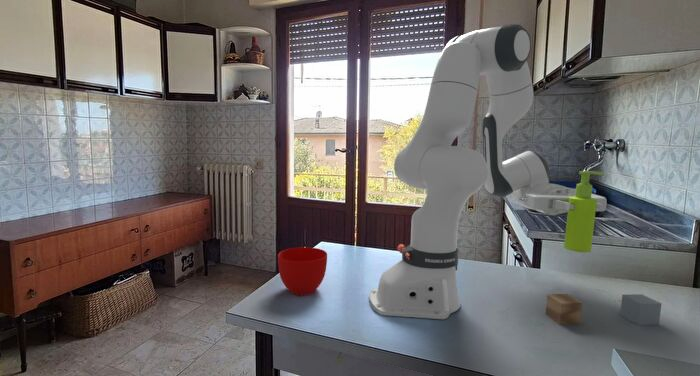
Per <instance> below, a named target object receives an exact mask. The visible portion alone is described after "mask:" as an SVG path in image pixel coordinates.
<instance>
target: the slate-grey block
mask: <svg viewBox="0 0 700 376" xmlns="http://www.w3.org/2000/svg"><path fill="white" fill-rule="evenodd" d="M662 305H663V304H662V303H661V302H659V301H658V300H655V299H653V298H651V297H649V296H646V295H644V294H640V293H639V294H637V293H635V294H622V295H621V304H620V313H619V314H620V316H622V317H624V318H626V319H627V320H629V321H631V322H632V323H635V324H636V325H638V326H643V325H644V326H645V325H650V326H651V325H660V318H661V311H662Z"/></svg>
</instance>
